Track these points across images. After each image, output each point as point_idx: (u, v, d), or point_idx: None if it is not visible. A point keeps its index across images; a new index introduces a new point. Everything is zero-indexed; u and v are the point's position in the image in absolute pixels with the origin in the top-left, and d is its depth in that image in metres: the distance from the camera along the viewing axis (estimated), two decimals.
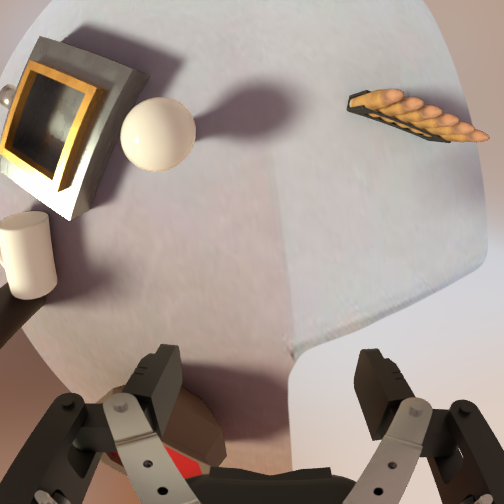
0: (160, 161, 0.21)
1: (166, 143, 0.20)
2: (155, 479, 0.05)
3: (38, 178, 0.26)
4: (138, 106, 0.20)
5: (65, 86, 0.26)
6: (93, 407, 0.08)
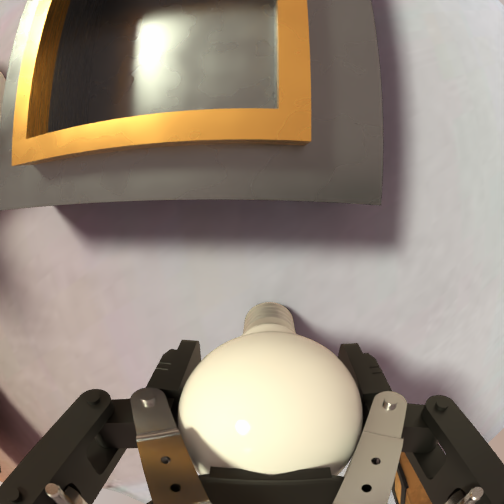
0: None
1: None
2: (170, 475, 0.05)
3: (20, 92, 0.08)
4: (333, 417, 0.07)
5: (253, 7, 0.11)
6: (118, 403, 0.08)
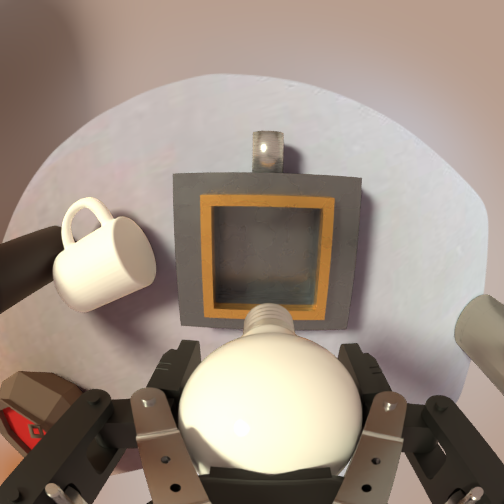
0: None
1: None
2: (170, 475, 0.05)
3: (205, 287, 0.28)
4: (333, 418, 0.07)
5: (303, 229, 0.32)
6: (118, 403, 0.08)
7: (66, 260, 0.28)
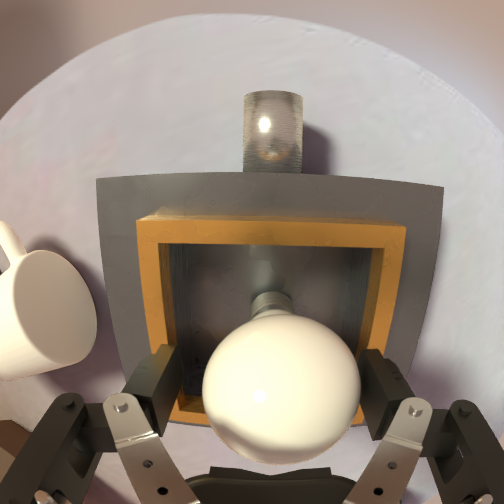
0: None
1: None
2: (155, 479, 0.05)
3: None
4: (338, 382, 0.09)
5: (333, 272, 0.18)
6: (93, 407, 0.08)
7: None
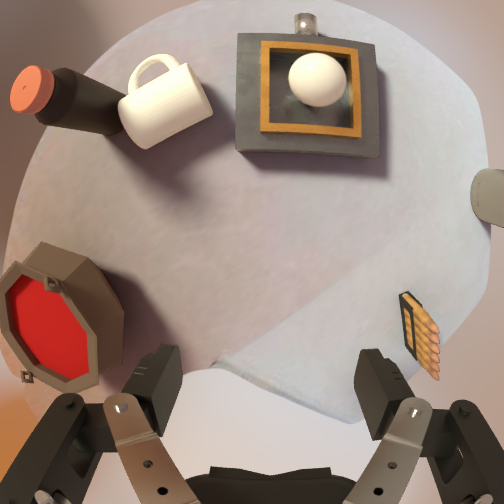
0: (307, 89, 0.26)
1: (323, 88, 0.26)
2: (155, 479, 0.05)
3: (263, 104, 0.31)
4: (334, 59, 0.25)
5: None
6: (93, 407, 0.08)
7: (135, 92, 0.31)
